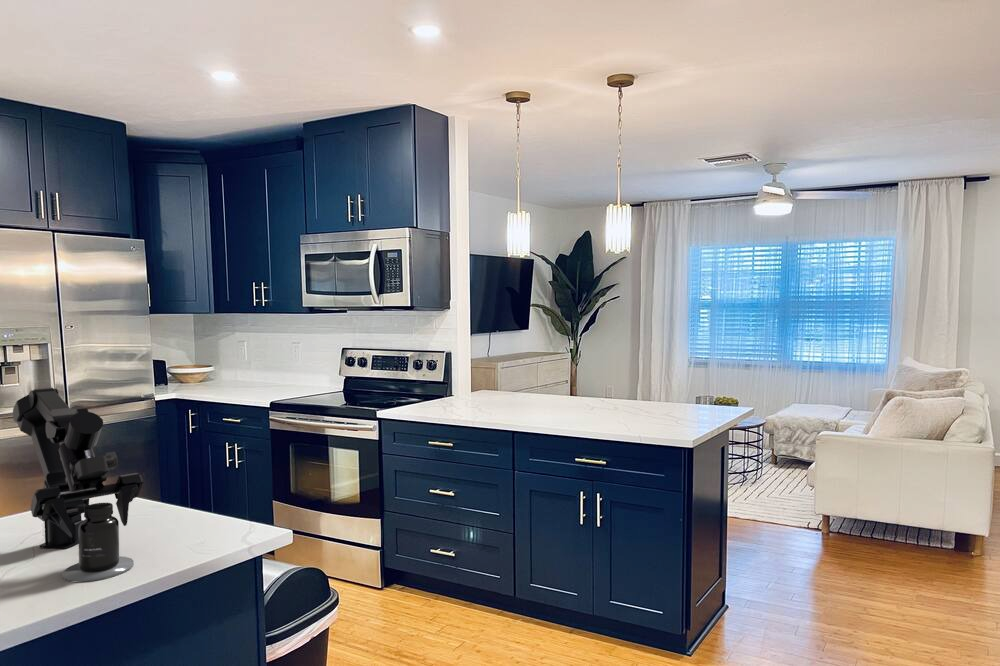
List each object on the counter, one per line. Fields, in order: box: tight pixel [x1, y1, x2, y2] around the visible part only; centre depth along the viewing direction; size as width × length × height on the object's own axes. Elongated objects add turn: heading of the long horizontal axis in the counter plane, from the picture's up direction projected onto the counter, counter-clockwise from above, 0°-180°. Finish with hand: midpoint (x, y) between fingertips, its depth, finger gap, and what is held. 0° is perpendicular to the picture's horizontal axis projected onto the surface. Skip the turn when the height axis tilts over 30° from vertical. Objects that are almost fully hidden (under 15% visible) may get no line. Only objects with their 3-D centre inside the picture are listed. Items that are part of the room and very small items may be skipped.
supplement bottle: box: [78, 502, 120, 572], centre depth 135 cm, size 7×7×12 cm
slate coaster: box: [61, 555, 135, 582], centre depth 135 cm, size 12×12×1 cm
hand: (99, 530), depth 133 cm, fingers open, 9 cm apart
